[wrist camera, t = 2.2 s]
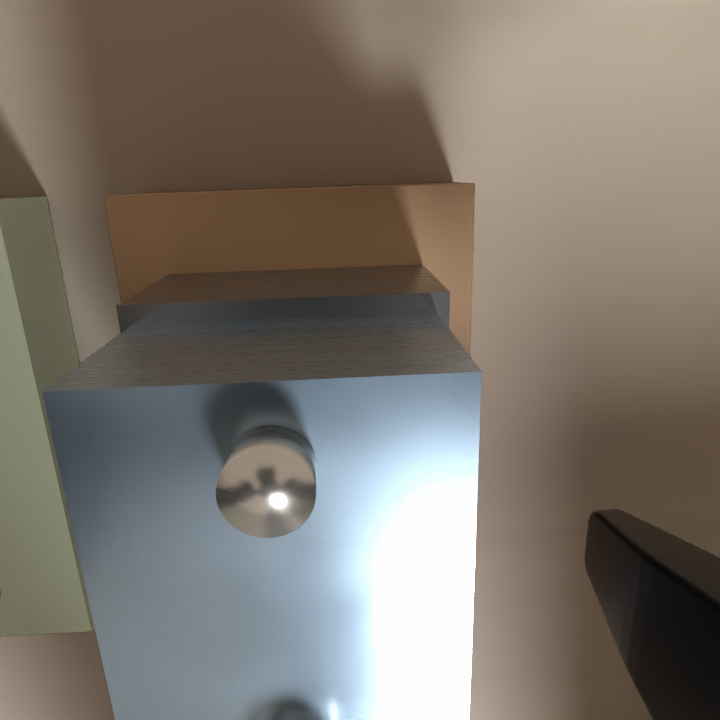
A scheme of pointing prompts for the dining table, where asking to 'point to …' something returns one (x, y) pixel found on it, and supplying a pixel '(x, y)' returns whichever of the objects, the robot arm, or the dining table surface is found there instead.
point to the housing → (278, 496)
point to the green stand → (34, 431)
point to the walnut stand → (298, 234)
